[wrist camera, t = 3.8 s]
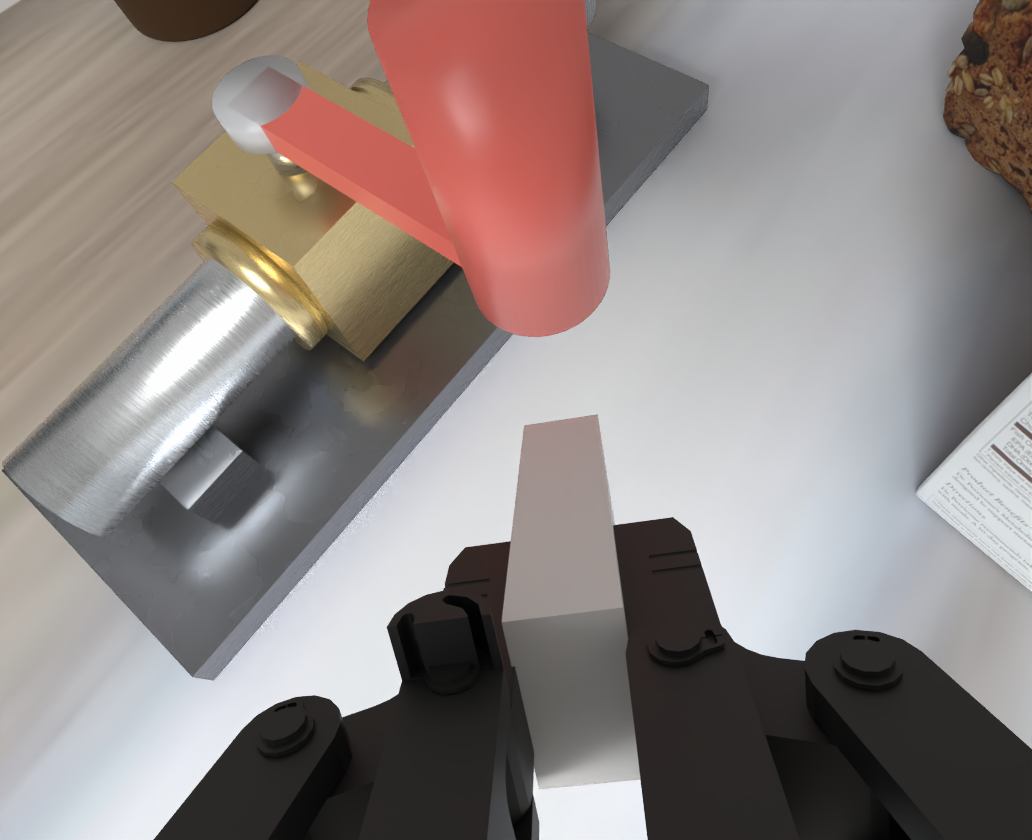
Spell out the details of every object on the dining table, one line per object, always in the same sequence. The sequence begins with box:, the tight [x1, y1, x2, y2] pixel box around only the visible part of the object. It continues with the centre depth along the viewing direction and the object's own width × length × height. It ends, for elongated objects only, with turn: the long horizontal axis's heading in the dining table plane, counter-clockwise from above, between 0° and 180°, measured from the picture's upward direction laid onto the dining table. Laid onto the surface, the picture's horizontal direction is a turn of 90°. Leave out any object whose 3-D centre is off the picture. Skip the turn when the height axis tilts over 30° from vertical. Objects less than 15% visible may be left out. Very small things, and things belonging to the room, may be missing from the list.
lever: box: [212, 0, 610, 337], centre depth 20 cm, size 16×4×9 cm, turn 51°
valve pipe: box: [2, 0, 709, 680], centre depth 32 cm, size 34×14×11 cm, turn 141°
